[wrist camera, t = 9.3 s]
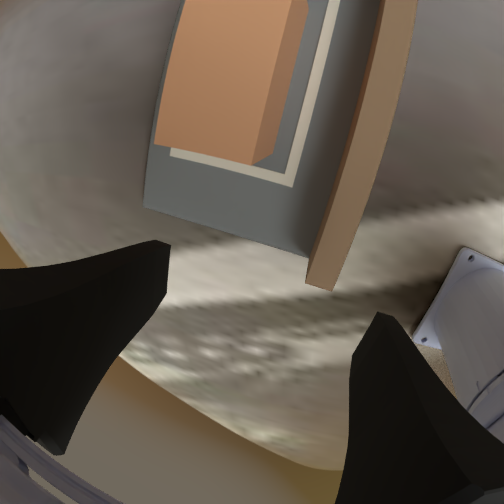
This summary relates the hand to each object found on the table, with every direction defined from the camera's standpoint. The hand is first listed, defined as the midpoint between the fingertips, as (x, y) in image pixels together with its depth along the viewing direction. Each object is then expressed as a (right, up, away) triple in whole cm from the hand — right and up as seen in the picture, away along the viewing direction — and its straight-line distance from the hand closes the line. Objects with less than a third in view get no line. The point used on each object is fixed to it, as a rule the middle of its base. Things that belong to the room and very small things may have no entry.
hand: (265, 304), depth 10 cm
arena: (+1, +12, +5) cm, 13 cm away
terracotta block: (0, +12, +4) cm, 13 cm away
